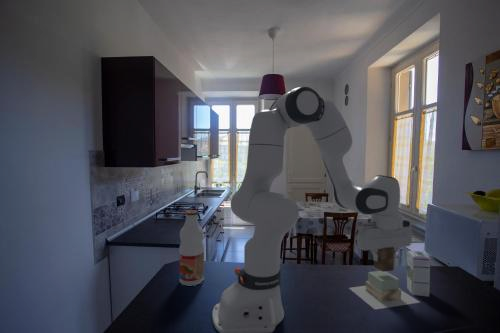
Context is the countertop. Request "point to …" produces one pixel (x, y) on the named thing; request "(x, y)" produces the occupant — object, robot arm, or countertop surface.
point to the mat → (379, 305)
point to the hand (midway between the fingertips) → (383, 259)
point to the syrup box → (418, 273)
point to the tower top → (383, 280)
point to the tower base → (383, 293)
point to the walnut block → (385, 259)
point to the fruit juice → (191, 251)
